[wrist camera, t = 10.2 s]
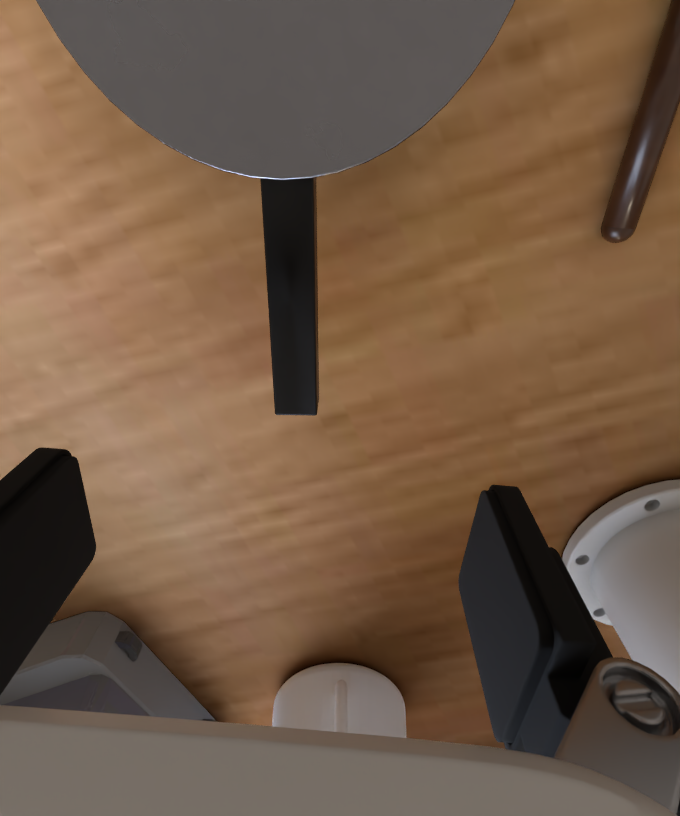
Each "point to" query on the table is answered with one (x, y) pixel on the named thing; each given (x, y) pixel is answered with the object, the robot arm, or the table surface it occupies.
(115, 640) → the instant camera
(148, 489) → the table surface
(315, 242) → the saucepan
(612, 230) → the spatula
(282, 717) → the coffeepot
